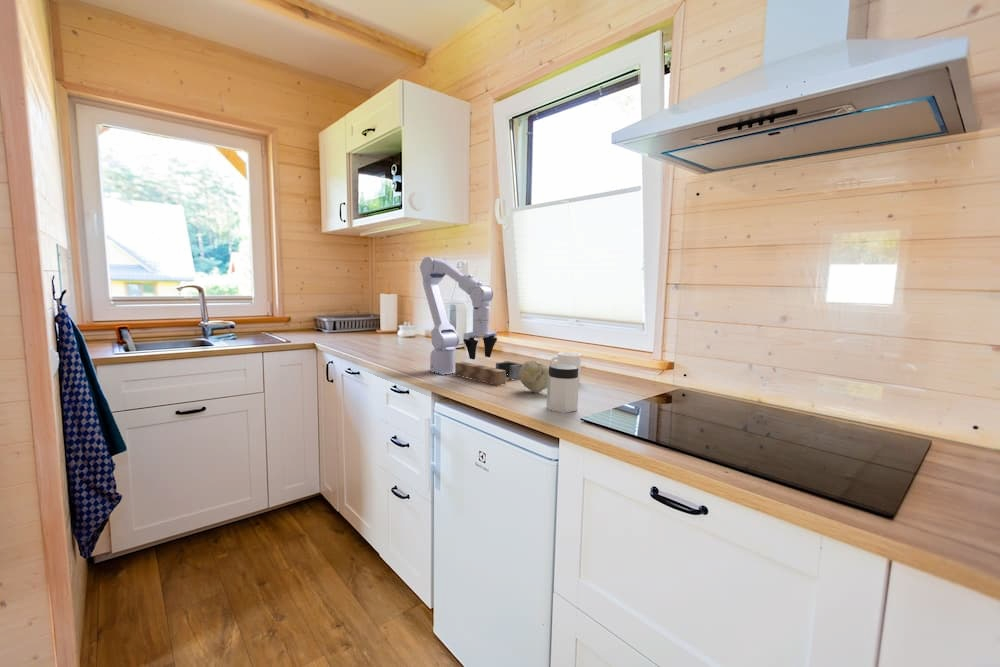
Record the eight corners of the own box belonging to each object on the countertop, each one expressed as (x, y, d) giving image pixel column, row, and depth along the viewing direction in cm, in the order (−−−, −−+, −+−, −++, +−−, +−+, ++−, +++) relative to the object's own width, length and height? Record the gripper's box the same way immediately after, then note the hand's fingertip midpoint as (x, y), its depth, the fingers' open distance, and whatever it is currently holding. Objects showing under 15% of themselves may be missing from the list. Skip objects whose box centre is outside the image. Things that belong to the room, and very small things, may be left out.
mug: (543, 380, 160) (544, 352, 159) (555, 377, 167) (556, 350, 166) (572, 385, 153) (573, 356, 152) (583, 382, 159) (585, 353, 158)
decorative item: (512, 391, 143) (513, 360, 142) (528, 386, 149) (529, 357, 148) (542, 398, 135) (543, 365, 134) (558, 393, 141) (559, 362, 140)
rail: (455, 375, 165) (455, 362, 164) (462, 374, 167) (462, 361, 167) (498, 386, 150) (499, 371, 149) (505, 384, 153) (506, 370, 152)
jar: (564, 403, 130) (565, 363, 128) (583, 410, 123) (585, 367, 122) (540, 407, 125) (541, 365, 124) (559, 414, 118) (561, 370, 117)
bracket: (494, 375, 165) (494, 362, 165) (506, 373, 170) (507, 360, 170) (513, 380, 158) (514, 366, 158) (526, 377, 163) (527, 364, 163)
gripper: (473, 321, 148) (472, 361, 150) (503, 320, 159) (502, 357, 160) (459, 320, 153) (459, 358, 155) (489, 318, 163) (488, 354, 165)
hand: (480, 358), depth 158 cm, fingers open, 7 cm apart
